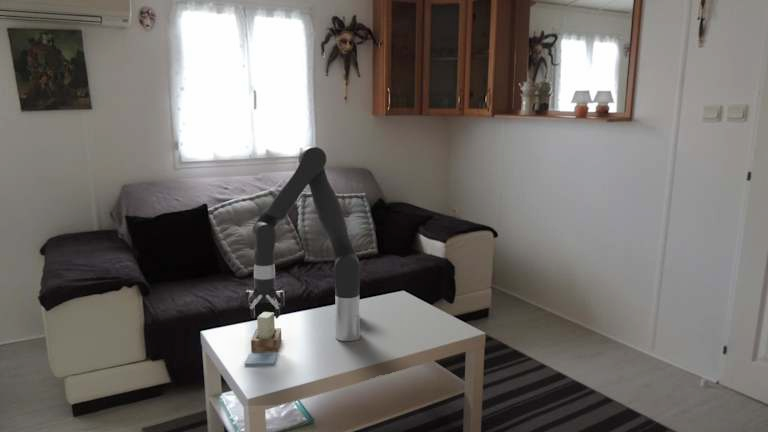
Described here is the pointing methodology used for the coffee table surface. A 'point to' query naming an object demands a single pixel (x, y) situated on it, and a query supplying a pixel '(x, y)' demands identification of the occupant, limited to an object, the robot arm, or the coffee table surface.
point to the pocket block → (266, 342)
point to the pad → (261, 359)
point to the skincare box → (266, 325)
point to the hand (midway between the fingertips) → (265, 317)
